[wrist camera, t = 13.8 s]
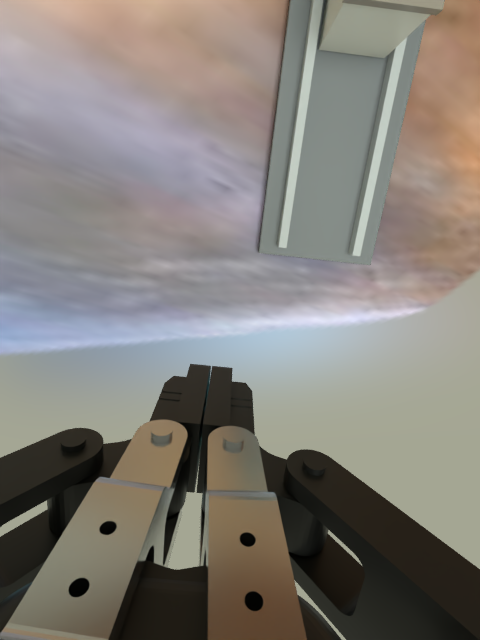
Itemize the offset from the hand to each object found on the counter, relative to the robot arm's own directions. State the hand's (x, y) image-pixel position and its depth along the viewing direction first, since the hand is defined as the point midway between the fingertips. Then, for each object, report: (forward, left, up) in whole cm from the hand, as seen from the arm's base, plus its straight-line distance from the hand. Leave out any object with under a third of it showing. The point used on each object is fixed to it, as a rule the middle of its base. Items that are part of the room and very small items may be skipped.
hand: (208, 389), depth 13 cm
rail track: (+9, +15, -29) cm, 34 cm away
